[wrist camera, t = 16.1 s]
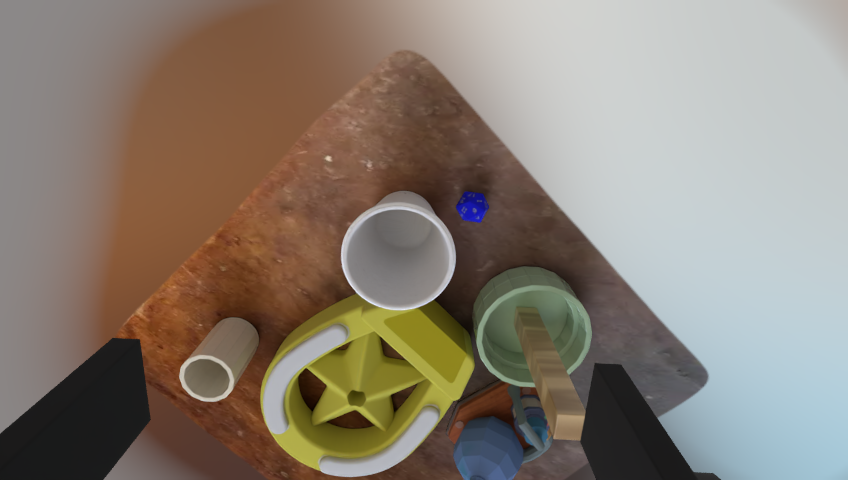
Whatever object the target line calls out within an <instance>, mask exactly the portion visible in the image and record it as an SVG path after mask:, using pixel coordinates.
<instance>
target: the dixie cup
mask: <svg viewBox="0 0 848 480" xmlns="http://www.w3.org/2000/svg"><path fill="white" fill-rule="evenodd" d="M341 262H342V267H343V271H344V274H345V276H346V278H347V280H348V282H349V284H350V285H351V287H352V288H353V289H354V290H355V291H356V292H357V293H358V294H359V295H360V296H361V297H362V298H363V299H365V300H366V301H368V302H370V303H372V304H374V305H376V306H378V307H381V308H385V309H390V310H409V309H414V308H417V307H420V306H423V305H425V304H427V303H429V302H431V301H432V300H434V299H435V298H436V297H437V296H439V295H440V294H441V293H442V291H443V290H444V289H445V288H446V286H447V285H448V283H449V282H450V280H451V278H452V275H453V272H454V269H455V263H456V251H455V245H454V242H453V239H452V236H451V234H450V232H449V230H448V229H447V227H446V226H445V225H444V223H443V222H442V221H441V220H440V219H439V218H438V217H437V216H436V214H435V213H434V211H433V209H432V208H431V206H430V204H429V203H428V202H427V201H426V200H425V199H424V198H423V197H422V196H420V195H418V194H416V193H414V192H410V191H397V192H393V193H391V194H389V195H387V196H385V197H384V198H383V199H382V200H381V201H380V202H379V203H377V204H376V205H375V206H374V207H373V208H370V209H369V210H367V211H365V212H364V213H362V214H361V215H360V216H359V217H358V218H357V219H356V220H355V221H354V222H353V223H352V224H351V226H350V227H349V229H348V230H347V232H346V235H345V237H344V240H343V243H342V249H341Z"/></svg>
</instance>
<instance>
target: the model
mask: <svg viewBox="0 0 848 480" xmlns="http://www.w3.org/2000/svg"><path fill="white" fill-rule="evenodd" d="M446 435H447V436H448V437H449V439H450V440H451V441H452V443H453V444H454V445H455V447H454V454H453V457H454V460H455V463H456V466H457V468H458V470H459V471H460V473H461V475H462V476H463V478H464V480H512V479H513V478H514V476H515V475H516V473H517V472H518V470H519V468H520V466H521V464H522V463H526V462H529V461H532V460H533V459H535V458H537V457H539V456H540V455H542V454H543V453H544V452H545V451H546V450H548V449H549V447H550V446H551V444H552V442H553V435H552V432H551V430H550V427H549V424H548V421H547V418H546V415H545V413H544V410H543V407H542V404H541V401H540V398H539V395H538V393H537V390H536V387H522V386H516V385H513V384H510V383H507V382H504V381H502V380H501V379H499V380H497V381H495V382H493V383H492V384H490V385H488V386H486V387H484V388H483V389H481V390H479V391H477V392H475V393H474V394H472V395H470V396H468V397H466V398H465V399H463V400H461V401H459V402H458V403H457V405H456V407H455V410H454V412H453V414H452V416H451V419H450V422H449V424H448V427H447V430H446Z"/></svg>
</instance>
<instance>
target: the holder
mask: <svg viewBox="0 0 848 480" xmlns="http://www.w3.org/2000/svg"><path fill="white" fill-rule="evenodd" d="M258 345H259V336H258V333H257V331H256V329H255V328H254V326H253V325H252V324H250V323H249V322H248V321H246V320H244V319H241V318H236V317H230V318H225V319H223V320H221V321H220V322H218V323H217V324H216V325H215V327H214V328H213V329H212V330H211V331H210V333H209V334H208V335H207V336H206V337H205V339H204V340H203V341H202V342H201V343H200V345H199V346H198V347H197V348H196V349H195V351H194V352H193V353H192V354H191V355H190V357H189V358H188V359H187V360H186V361H185V363H184V364H183V365H182V366H181V370H180V376H179V378H180V381H181V383H182V386H183V388H184V389H185V390H186V391H187V392H188V393H189V394H190V395H191V396H193V397H195V398H197V399H199V400H202V401H212V402H215V401H218V400H221V399H223V398H226V397H227V396H228V395H229V393H230V392H231V391H232V390H233V388H234V387H235V385H236V383H237V382H238V380H239V379H240V377H241V375H242V374H243V372H244V370H245V369H246V367H247V365H248V364H249V362H250V360H251V359H252V357H253V356H254V354H255V352H256V350H257V348H258Z"/></svg>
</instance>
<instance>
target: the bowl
mask: <svg viewBox="0 0 848 480" xmlns="http://www.w3.org/2000/svg"><path fill="white" fill-rule="evenodd" d="M516 307H531V308H537V310H538V312H539V314H540V316H541V318H542V321H543V323H544V325H545V327H546V329H547V331H548V333H549V335H550V337H551V340H552V342H553V344H554V346H555V348H556V350H557V352H558V354H559V356H560V359H561V361H562V363H563V365H564V367H565V369H566V371H567V373H568V375H569V374H571V373H572V372H573V371H574V370H575V369H576V368H577V367H578V366H579V365H580V364H581V363H582V361H583V359H584V357H585V356H586V354H587V352H588V350H589V347H590V342H591V337H592V329H591V323H590V318H589V315H588V314H587V312H586V310H585V309H584V307H583V305H582V304H581V302H580V301H579V299H578V298H577V296H576V295H575V293H574V292H573V290H572V289H571V287H570V286H569V284H568V283H567V282H566V281H564V280H563V279H562V278H561V277H559V276H558V275H557V274H555V273H554V272H551V271H549V270H546V269H543V268H541V267H527V266H523V267H518V268H514V269H510V270H506V271H504V272H503V273H501V274H499V275H497V276H496V277H494V278H492V279H491V280H490V281H489V282H488V283H487V284H486V285H485V286H484V287H483V288H482V289H481V290H480V292H479V294H478V297H477V299H476V301H475V303H474V306H473V315H472V323H473V328H474V333H475V338H476V344H477V347H478V351H479V355H480V358H481V360H482V361H483V363H484V364H485V366H486V367H487V369H488V370H489V371H490V372H491V373H493V374H494V375H495V376H497V377H498V378H499V379H501V380H502V381H504V382H507V383H510V384H513V385H516V386H522V387H535V384H534V381H533V378H532V376H531V373H530V370H529V367H528V364H527V361H526V359H525V356H524V353H523V350H522V347H521V344H520V341H519V339H518V336H517V333H516V330H515V327H514V318H515V310H516Z"/></svg>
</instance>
